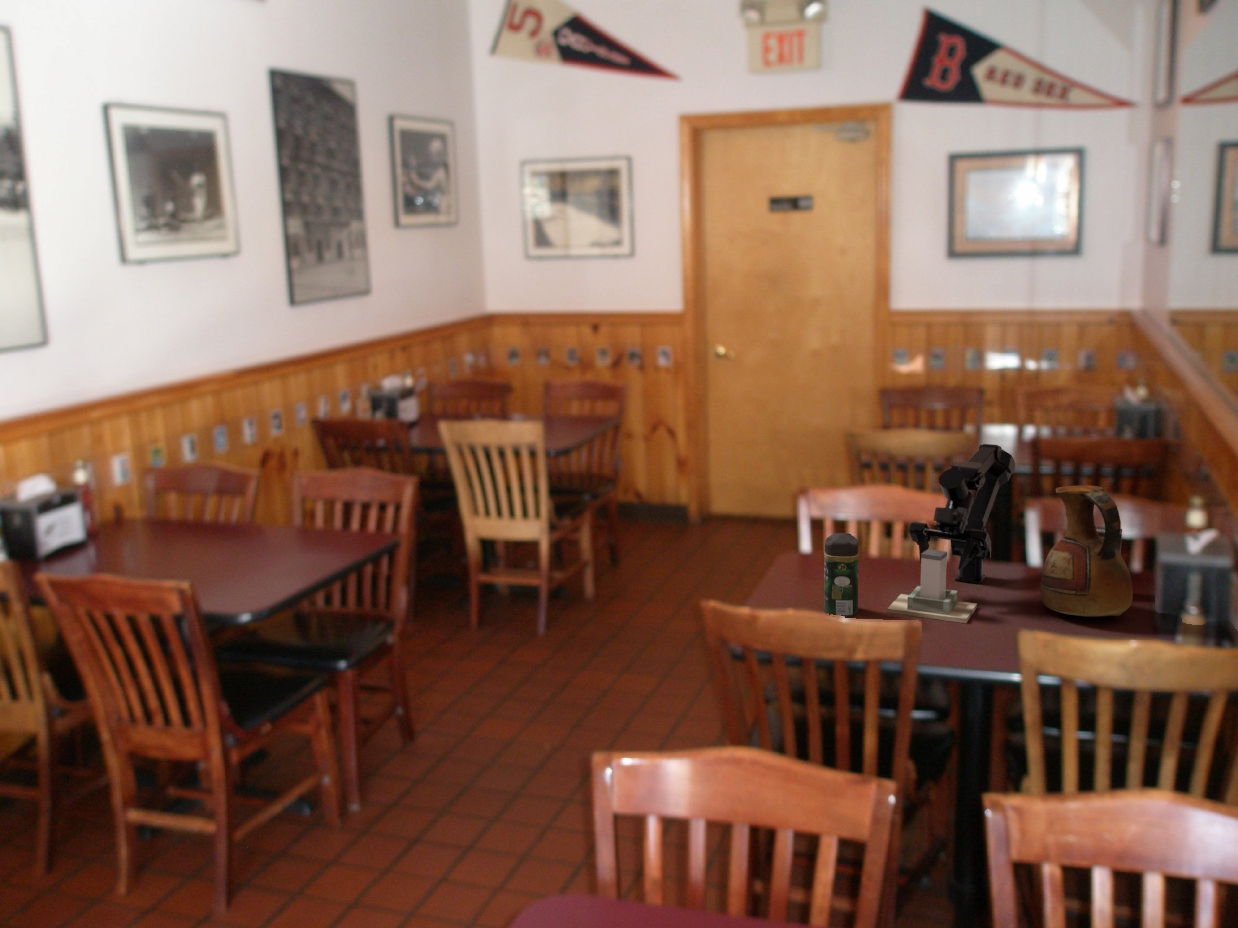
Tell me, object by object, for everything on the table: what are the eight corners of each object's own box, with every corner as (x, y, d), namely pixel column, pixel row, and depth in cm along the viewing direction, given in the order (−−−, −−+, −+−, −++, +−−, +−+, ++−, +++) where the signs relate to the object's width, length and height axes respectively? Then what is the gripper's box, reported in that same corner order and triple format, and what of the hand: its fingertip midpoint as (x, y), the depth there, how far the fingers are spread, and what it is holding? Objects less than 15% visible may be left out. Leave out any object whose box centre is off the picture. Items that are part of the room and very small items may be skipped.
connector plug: (926, 601, 270) (928, 548, 268) (945, 604, 268) (947, 551, 265) (919, 607, 267) (921, 553, 264) (938, 610, 264) (940, 556, 262)
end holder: (900, 597, 277) (901, 582, 276) (976, 607, 269) (977, 591, 268) (887, 612, 267) (887, 596, 266) (966, 623, 258) (966, 606, 257)
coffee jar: (824, 604, 273) (825, 529, 270) (857, 606, 272) (859, 530, 268) (822, 618, 264) (823, 540, 260) (857, 619, 262) (859, 541, 259)
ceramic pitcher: (1079, 594, 276) (1086, 474, 270) (1151, 618, 258) (1160, 489, 253) (1020, 608, 267) (1026, 483, 261) (1090, 633, 250) (1098, 501, 244)
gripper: (911, 489, 275) (893, 544, 269) (989, 497, 265) (972, 555, 259) (922, 513, 283) (905, 567, 277) (998, 522, 273) (982, 579, 266)
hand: (940, 566), depth 269 cm, fingers open, 9 cm apart
